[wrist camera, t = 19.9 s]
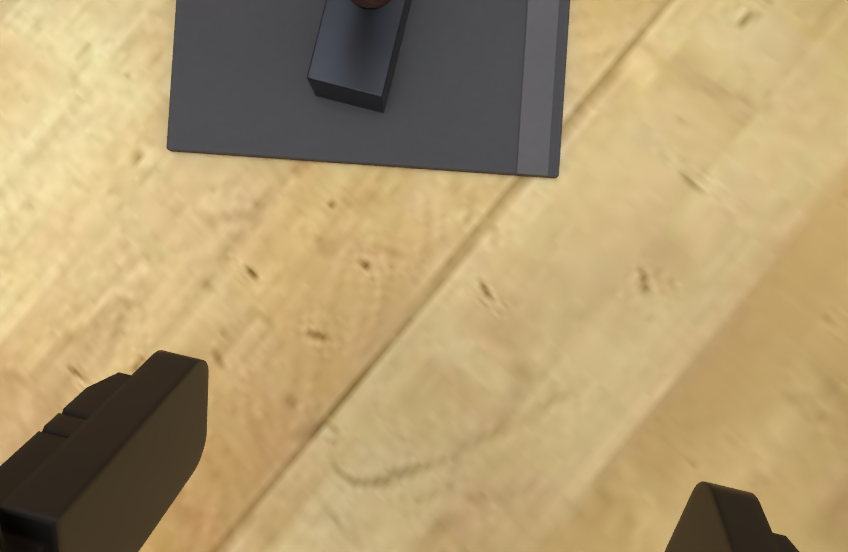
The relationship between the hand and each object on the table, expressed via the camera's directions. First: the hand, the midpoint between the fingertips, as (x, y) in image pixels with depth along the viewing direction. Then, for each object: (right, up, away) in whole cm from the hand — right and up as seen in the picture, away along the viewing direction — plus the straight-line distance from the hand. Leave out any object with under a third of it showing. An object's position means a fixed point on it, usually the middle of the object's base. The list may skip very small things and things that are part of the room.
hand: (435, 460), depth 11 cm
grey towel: (-3, +17, +23) cm, 29 cm away
